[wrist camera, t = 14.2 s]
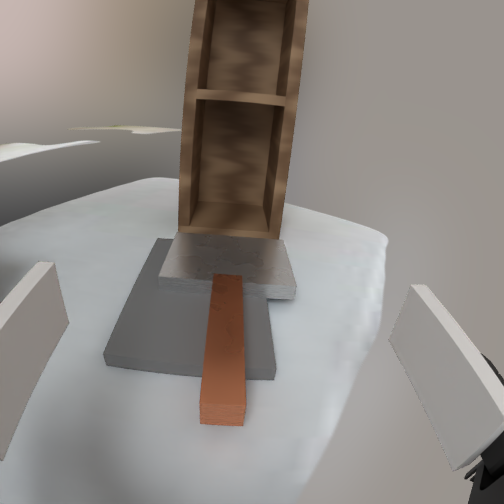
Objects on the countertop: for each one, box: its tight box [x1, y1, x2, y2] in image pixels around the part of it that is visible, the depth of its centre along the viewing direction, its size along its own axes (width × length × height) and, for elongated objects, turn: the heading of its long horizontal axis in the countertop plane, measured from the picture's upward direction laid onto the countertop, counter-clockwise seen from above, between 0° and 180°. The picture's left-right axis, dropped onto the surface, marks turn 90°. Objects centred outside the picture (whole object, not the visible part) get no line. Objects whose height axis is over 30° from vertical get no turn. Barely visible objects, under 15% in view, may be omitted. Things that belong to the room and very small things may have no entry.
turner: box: [158, 232, 297, 426], centre depth 21 cm, size 10×19×2 cm, turn 2°
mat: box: [103, 238, 276, 380], centre depth 24 cm, size 10×16×1 cm, turn 3°
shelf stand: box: [178, 0, 309, 240], centre depth 32 cm, size 11×10×30 cm
